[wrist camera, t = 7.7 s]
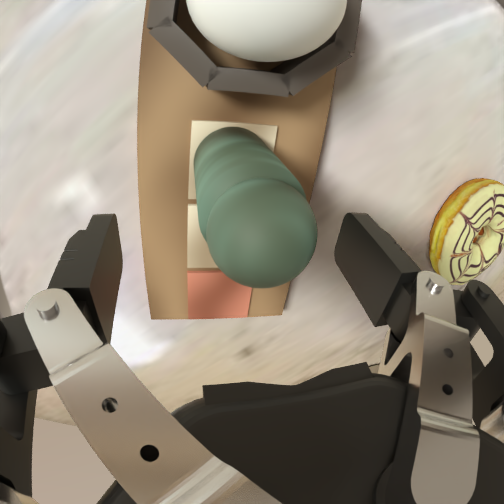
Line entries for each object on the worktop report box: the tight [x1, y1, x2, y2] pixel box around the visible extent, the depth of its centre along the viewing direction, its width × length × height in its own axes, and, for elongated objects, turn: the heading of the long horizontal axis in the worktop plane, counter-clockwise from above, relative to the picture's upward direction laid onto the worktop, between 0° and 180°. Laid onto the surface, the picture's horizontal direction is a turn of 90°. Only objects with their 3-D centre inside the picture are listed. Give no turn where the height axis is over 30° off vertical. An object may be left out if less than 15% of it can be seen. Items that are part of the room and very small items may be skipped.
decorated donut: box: [429, 178, 504, 285], centre depth 22 cm, size 10×11×4 cm
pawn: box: [193, 127, 317, 288], centre depth 12 cm, size 4×4×9 cm
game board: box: [137, 0, 362, 319], centre depth 15 cm, size 10×25×4 cm, turn 173°
